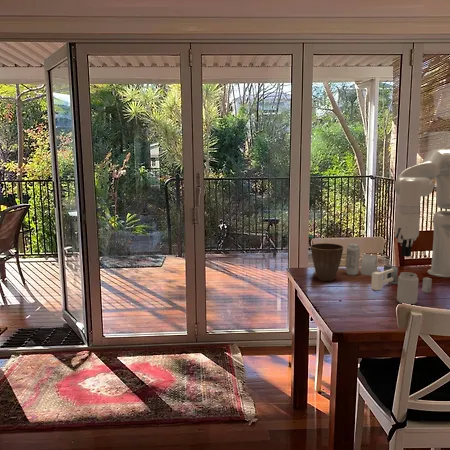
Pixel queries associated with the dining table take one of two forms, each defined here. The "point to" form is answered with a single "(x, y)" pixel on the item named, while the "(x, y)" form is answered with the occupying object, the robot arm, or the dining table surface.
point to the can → (407, 288)
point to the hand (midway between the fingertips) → (405, 255)
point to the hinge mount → (389, 274)
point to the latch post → (427, 285)
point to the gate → (378, 278)
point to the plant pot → (326, 260)
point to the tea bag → (368, 264)
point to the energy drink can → (352, 259)
